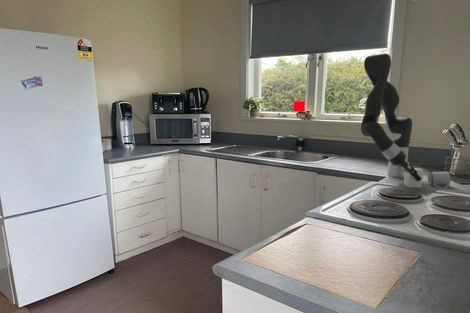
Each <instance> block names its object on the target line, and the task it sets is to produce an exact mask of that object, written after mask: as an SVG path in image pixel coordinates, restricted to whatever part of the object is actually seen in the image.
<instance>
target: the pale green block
mask: <svg viewBox="0 0 470 313" xmlns="http://www.w3.org/2000/svg"><path fill="white" fill-rule="evenodd" d="M413 168H414V169H415V170H416V171H417V172H418V173H417V174H418V175H419V176H420V177H421V180H420V181H417V180H416V179H415V178H414V177H413V176H411V174H410V173H407V172H406V171H405V174H404V178H403V183H404V185H406V186H407V187H419V188H421V187H422V185H423V177H424V169H422V168H419V167H413ZM407 171H408V170H407ZM413 172H414V171H412V173H413Z"/></svg>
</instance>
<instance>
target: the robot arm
mask: <svg viewBox="0 0 470 313" xmlns="http://www.w3.org/2000/svg"><path fill="white" fill-rule="evenodd" d="M363 63H364V64H363V67H364V71H365V73H366V75H367V77H368V78H369V80H370V82H371V84H372V86H373V88H372V89H371V90H370V92H369V94H368V96H367V97H366V101H365V109H364V115H363V118H362V121H361V126H360V132H361V134H362V135H363V136H364V137H371V139H372V140H373V141H374V146H375V147H376V148H377V149H378V150H379V151H380V152H381V154H382V155H383V157H385V158H386V160H387V161H388V167H387V168H388V169H387V177H388V178H389V177H390V178H402V179H404V174H405V171H406V172H407V173H410V174H411V176H413V177H414V178H415V179H416V180H417V181H420V180H421V177H420V176H419V175H418V174H417V173H418V172H417V171H416V170H415V169H414V168H415V167H414V166H412V164H411V163H410V162H409V161H408V159H409V157H408V156H409V147H410V143H411V135H412V131H413V121H412V118H410V117H406V116H405V117H401V116H397V115H396V113H395V112H396V110H397V108H398V106H399V104H400V96H399V93H398V90H397V88H396V87H395V85H393V84H392V83H391V82H389V81H388V80H389V79H388V78H389V75H390V71H391V67H392V59H391V56H390V55H389V54H388V53H379V54H372V55H368V56H366V57H365V58H364V61H363ZM382 110H383V113H384V116H385V119H386V123H387V127H388V130H389V131H390V133H392V134H395V135H396V134H397V135H400V137H399V138H397V139H393V140H392V139H391V138H390V137H389V136H388V135H387V133H386V131H385V129H384V128H383V126H382V125H381V124H379V123H378V122H377V120H378V118H379V116H380V115H381V112H382ZM407 170H408V171H407ZM412 171H414V172H413V173H412Z"/></svg>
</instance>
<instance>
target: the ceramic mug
mask: <svg viewBox="0 0 470 313" xmlns="http://www.w3.org/2000/svg"><path fill="white" fill-rule="evenodd" d="M427 182H428V185H429V186H430V187H434V188H440V189H442V190H443V189H444V190H445V189H448V188H449V187H450V185H451V174H450V172H448V171H432V172H429V173H428V175H427Z"/></svg>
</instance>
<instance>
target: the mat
mask: <svg viewBox="0 0 470 313" xmlns="http://www.w3.org/2000/svg"><path fill="white" fill-rule="evenodd" d="M389 190H395V191H399V192H405V193H410V194H416V195H420V196H424V197H428V196H430V195H431V194H434V193H435V192H438V191H439V190H441V188H436V187H435V186H427V185H423V184H422V187H421V188H419V187H407V186H406V185H404V182H403V183H401V184H399V185H398V184H397V185H395V186H393V187H389Z"/></svg>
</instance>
